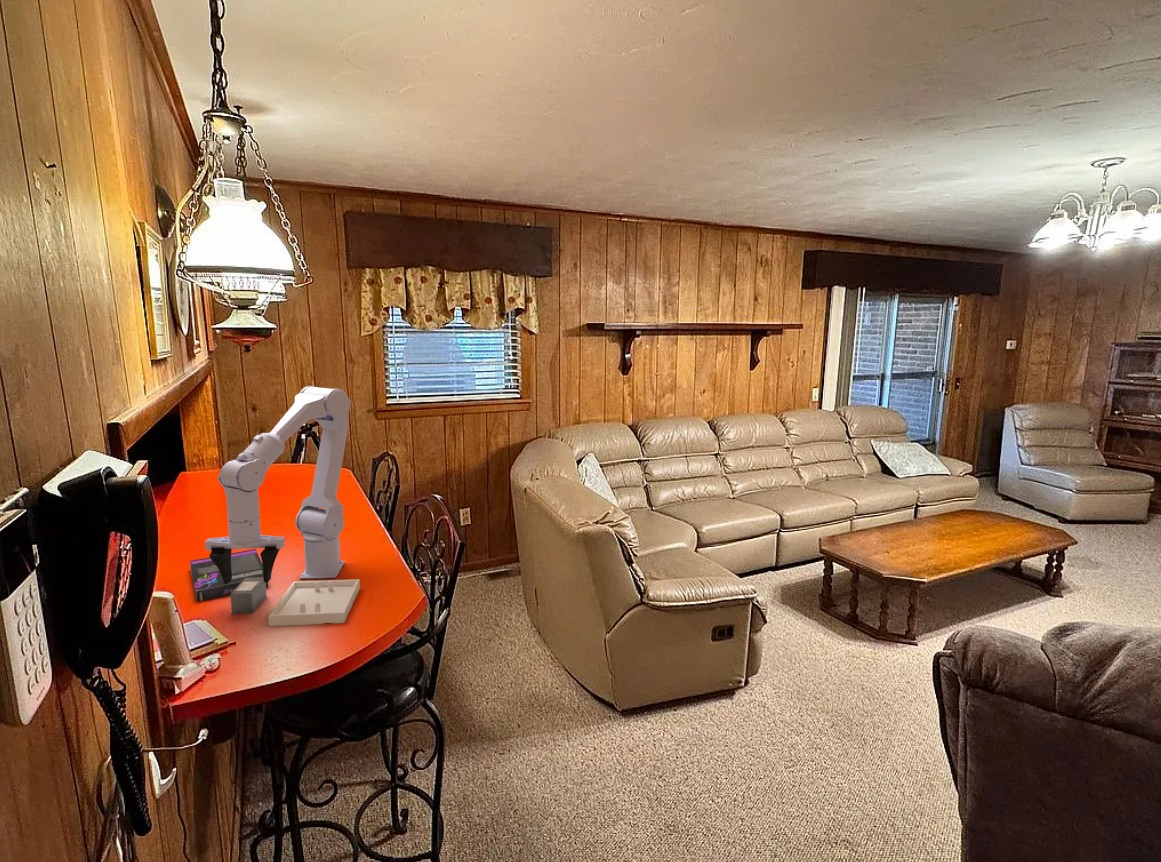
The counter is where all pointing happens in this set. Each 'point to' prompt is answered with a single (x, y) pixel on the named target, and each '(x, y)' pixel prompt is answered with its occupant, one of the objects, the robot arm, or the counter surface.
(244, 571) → the box
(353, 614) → the counter surface
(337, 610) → the tray
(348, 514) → the counter surface
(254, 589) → the block
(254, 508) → the robot arm
